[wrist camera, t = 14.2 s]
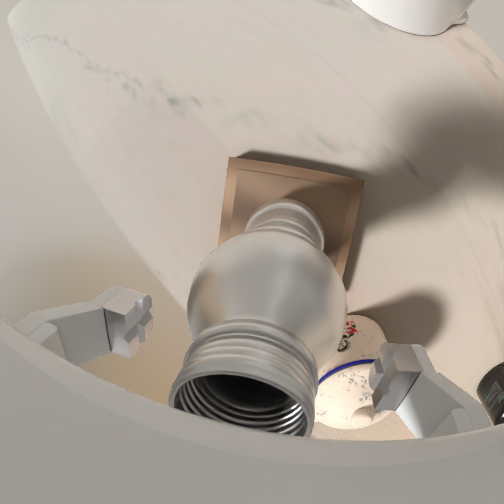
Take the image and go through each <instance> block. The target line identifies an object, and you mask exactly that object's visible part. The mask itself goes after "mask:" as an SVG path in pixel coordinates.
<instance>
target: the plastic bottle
mask: <svg viewBox="0 0 504 504" xmlns="http://www.w3.org/2000/svg"><path fill="white" fill-rule="evenodd" d="M323 249H324V231H323V227H322V225H321V222H320V220H319V218H318V217H317V215H316V214H315V213H314V212H313V211H312V210H311V209H310V208H309V207H308V206H306V205H305V204H303V203H301V202H299V201H296V200H292V199H276V200H271V201H269V202H267V203H265V204H263V205H262V206H260V207H259V208H258V209H257V210H256V211H255V212H254V213H253V214H252V215H251V217H250V219H249V221H248V223H247V226H246V229H245V232H244V233H242V234H239V235H237V236H235V237H233V238H231V239H229V240H227V241H226V242H224V243H223V244H221V245H220V246H219V247H217V248H216V249H215V250H213V251H212V252H211V253H210V254H209V255H208V256H207V257H206V258H205V260H204V261H203V262H202V263H201V264H200V266H199V268H198V270H197V272H196V274H195V276H194V278H193V282H192V285H191V289H190V293H189V298H188V302H187V320H188V325H189V330H190V333H191V337H192V340H193V343H192V345H191V346H190V348H189V350H188V351H187V353H186V355H185V358H184V362H183V367H182V369H181V371H180V373H179V374H178V376H177V378H176V380H175V381H174V383H173V385H172V388H171V391H170V395H169V406H170V407H173V408H176V409H179V410H182V411H185V412H188V413H192V414H195V415H198V416H202V417H205V418H209V419H213V420H217V421H220V422H224V423H229V424H233V425H237V426H242V427H246V428H251V429H256V430H262V431H267V432H273V433H279V434H286V435H293V436H301V437H309V436H310V434H311V433H312V428H313V426H314V420H315V398H316V396H317V392H318V385H319V379H318V372H319V371H320V370H321V369H322V368H323V367H324V366H325V365H326V364H327V363H328V362H329V361H330V359H331V358H332V357H333V355H334V353H335V352H336V350H337V349H338V347H339V344H340V341H341V339H342V336H343V333H344V329H345V326H346V320H347V312H348V304H347V295H346V291H345V288H344V285H343V282H342V279H341V277H340V276H339V274H338V272H337V270H336V269H335V267H334V265H333V264H332V262H331V260H330V259H329V258H328V257H327V256H326V254H325V253H324V252H323Z"/></svg>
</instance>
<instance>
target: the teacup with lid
mask: <svg viewBox="0 0 504 504" xmlns="http://www.w3.org/2000/svg"><path fill="white" fill-rule="evenodd" d="M384 342H387V340H386V338H385V336H384V333H383V331H382V329H381V327H380V326H379V325H378V324H377V323H376V322H375V321H374V320H372V319H370V318H368V317H365V316H360V315H348V316H347V320H346V326H345V329H344V333H343V336H342V339H341V341H340V344H339V347H338V349H337V350H336V352H335V353H334V355H333V357H332V358H331V359H330V361H329V362H328V363H327V364H326V365H325V366H324V367H323V368H322V369H321V370H320V371H319V372H318V379H319V385H318V392H317V396H316V398H315V420H314V422H318V421H320V422H322V423H324V424H325V425H328V426H330V427H334V428H338V429H355V428H363V427H366V426H368V425H371V424H374V423H376V422H378V421H380V420H382V419H383V418H385V417H386V416H388V415H389V414H390V413H391V412H392V411H389V410H374V406H373V401H372V394H373V392H374V391H373V390H372V389H371V388H370V386H369V372H370V368H371V366H372V364H373V361H375V360H376V359H378V358H379V357H380V356H379V353H378V351H379V349H380V347H381V345H382V344H383V343H384Z"/></svg>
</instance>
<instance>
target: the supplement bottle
mask: <svg viewBox="0 0 504 504" xmlns="http://www.w3.org/2000/svg"><path fill="white" fill-rule="evenodd" d="M477 395H478V397H479V399H480V401H481V403H482V405H483V406H484V408H485V410H486V412H487V414H488V416H489V418H490V420H491V422H492V424H493V426H495V425H499V424H503V423H504V365H500V366H497V367H495V368H493V369H492V370H491V371H489V372H488V373H487V374H486V375H485V376H484V378H483V379H482V380H481V382H480V383H479V386H478V388H477Z"/></svg>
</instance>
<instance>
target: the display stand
mask: <svg viewBox="0 0 504 504" xmlns="http://www.w3.org/2000/svg"><path fill="white" fill-rule="evenodd" d="M363 183H364V180H359V179H355V178H351V177H346V176H342V175H337V174H332V173H327V172H322V171H317V170H312V169H307V168H301V167H296V166H290V165H284V164H277V163H271V162H264V161H257V160H250V159H242V158H234V157H229V161H228V168H227V176H226V183H225V191H224V199H223V207H222V216H221V224H220V233H219V242H218V247H219V246H220V245H221V244H223V243H224V242H226V241H227V240H229V239H231V238H233V237H235V236H237V235H239V234H242V233H244V232H245V229H246V226H247V223H248V221H249V219H250V217H251V215H252V214H253V213H254V212H255V211H256V210H257V209H258V208H259V207H260V206H262V205H263V204H265V203H267V202H269V201H271V200H276V199H292V200H296V201H299V202H301V203H303V204H305V205H306V206H308V207H309V208H310V209H311V210H312V211H313V212H314V213H315V214H316V215H317V217H318V218H319V220H320V222H321V225H322V227H323V231H324V249H323V252H324V253H325V254H326V256H327V257H328V258H329V259H330V260H331V262H332V264H333V265H334V267H335V269H336V270H337V272H338V274H339V276H340V277H341V279H342V277H343V274H344V270H345V266H346V262H347V258H348V254H349V250H350V246H351V242H352V237H353V233H354V228H355V224H356V219H357V215H358V210H359V205H360V200H361V194H362V189H363Z"/></svg>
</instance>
